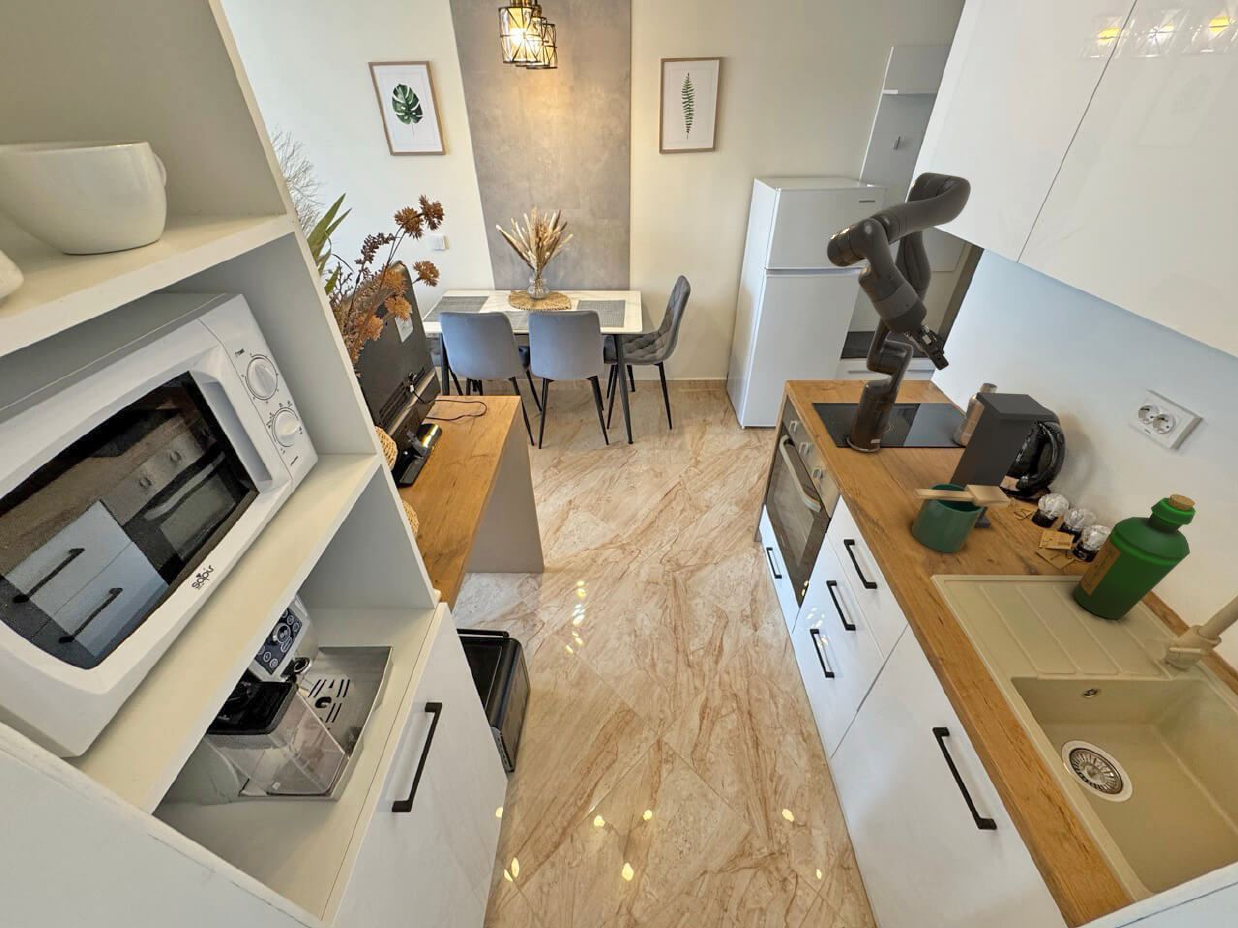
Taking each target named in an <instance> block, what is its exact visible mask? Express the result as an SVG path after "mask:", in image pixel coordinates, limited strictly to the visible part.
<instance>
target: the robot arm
mask: <svg viewBox="0 0 1238 928" xmlns="http://www.w3.org/2000/svg"><path fill="white" fill-rule="evenodd" d="M971 191H972V186H971V182H970V181H969V180H968V179H967V178H965V177H963V176H962V177H961V176H958V175H951V174H945V173H939V172H931V171H929V172H927V171H925V172H922V173H921V174H919V175H918V176H917V177H916V179H915V180H914V181H913V184H912V185H911V187H910V190H909V192H908V195H907V199H906V201H904V202H899V203H895V204H892V205H889V206H886V207H884V208H883V209H881V210H878V211H877V212H875V213H873V214H872V215H869V217H867V218H863V219H861V220H858V221H857V222H855V223H853V224H851V225H849V226H846V227H844V228H843V229H841V230H839V231H837V232H836V233H834V234H832V236H831V237H830V239H829V241H828V242H827V245H826V257H827V258H828V261H829V262H830V263H831V264H832V265H834V266H836V267H839V268H846V267H850V266H852V265H854V264H856V263H860V262H863V261H864V260H867V261H868V264H867V265H866V266H864V267H863V268H862V269H861V271H860V272H859V274H858V276H857V282H858V285H859V286H860V288H861V289H862V291H863V292H864V294H865V295H866V297H867V298H868V300H869V301H870V303H871V304H872V306H873V309H874V311H876V313H877V314H878V316H879V318H878V319H879V320H878V323H877V326H876V328H875V332H874V335H873V338H872V341H871V344H870V347H869V350H868V353H867V355H866V362H865V367H866V369H867V370H868V371H870V372H873V373H876V374H881V375H885V376H890V377H887V378H882V379H873V380H868V381H867V382H865V384H864V385H863V388H862V391H861V395H860V398H859V401H858V405H857V407H856V411H855V415H854V418H853V421H852V424H851V426H850V430H849V434H848V436H847V439H846V444H847V445H848V446H849V447H850V448H852V449H853V450H855V451H857V452H861V453H868V454H869V453H875V452H878V451H879V449H880V447H881V444H882V440H883V438H884V435H885V432H886V430H887V427H888V423H889V421H890V418H891V415H892V412H893V409H894V406H895V404H896V400H897V397H898V395H899V392H900V389H901V386H902V383H903V381H904V378H905V375H906V373H907V371H908V369H909V367H910V364H911V362H912V360H913V355H914V347H913V345H914V346H915V347H916V348H917V350H918V351H919V353H920V354H921V355H922V356H925V355H926V356H927V358H928V359H929V360H930V361H931V363H933V365H934V367H935V368H936V369H937V370H938V371H942V370H944V369H946V368H948V366H950V362H949V361H948V360H947V358H946V356H945V355H944V354H946V353H945V350H944V349H943V348H942V347H941V345H940V343H939V342H938V340H937V339H936V337H935V336H934V335H933V333H932V332H931V331H930V328H929V326H928V325H927V324H926V323H923V321H924V320H925V318H926V317H927V314H928V309H927V307H926V305H925V304H924V303H925V300H926V297H927V294H928V291H929V288H930V284H931V281H932V277H933V272H932V266H931V262H930V259H929V255H928V253H927V249H926V246H925V242H924V230H928V229H932V228H934V227H938V226H941V225H942V226H943V225H946V224H949V223H951V222H953V221H954V220H956V219H957V218H958V217H959V216H960V215H961V214H962V212H963V211H964V209H965V207H966V206H967V203H968V201H969V198H970V196H971ZM897 241H898V246H897V249H896V253H895V258H893V254H892V251H891V247H890V246H891V245H892V244H894V243H896V242H897ZM890 333H893V334H897V335H898V334H899V335H900V334H903V335H904V336H905V338H906V339H907V341H908V342H911V343H912V344H913V345H911V344H909V343H905V342H900V341H894V340H889V339H888V336H889V335H890Z"/></svg>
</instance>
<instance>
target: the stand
mask: <svg viewBox="0 0 1238 928" xmlns="http://www.w3.org/2000/svg"><path fill="white" fill-rule="evenodd" d="M976 393H977V395H976V397H975V398H976V399H977V400H978V401H979V402H980V403H981V404H982V405H983V406H984V407H985V408H984V410H983V412H982V414H981V416H980V418H979V420H978V422H977V425H976V427H975V429H974V431H973V433H972V435H971V437H970V439H969V442H968V444H967V446H965V448H964V451H963V452H962V454H961V456H960V458H959V460H958V463H957V465H956V467H955V469H954V472H953V473H952V476H951V478H950V480H949V482H948V484H953V485H958V486H961V487H963V488H965V487H966V485H980V486H997V487H999V488H1000V487H1001V485H1002V483H1003V481H1004V480H1005V478H1006V475H1007V474H1008V472H1009V471H1010V468H1011V467H1012V465H1013V463H1014V462H1015V459H1016V457H1017V456H1018V453H1019V452H1020V450H1021V448H1022V446H1023V444H1024V443H1025V441H1026V440H1027V437H1028V435H1029V433H1030V432H1031V429H1032V428H1033V426H1034V424H1035V422H1052V421H1053V419H1054V417H1055V414H1053V413H1052V412H1051V411H1050V410H1048V409H1047V408H1046V407H1045V406H1043V405H1042V404H1041V403H1039V401H1036V399H1034V398H1033V397H1032V396H1030V395H1029V394H1027V393H1009V392H1008V393H1005V392H995V393H985V392H980V391H977V392H976ZM988 509H989V507H984V508H983V510H982V512H981V514H980V516H979V518H978V520H977V522H976V523H975V525H974V527H973V528H986V529H989V528H990V526H991V525H992V522H991V521H990V520H989V519H988V517H987V516H986V515H985V514H986V513H987V511H988Z"/></svg>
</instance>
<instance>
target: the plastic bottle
mask: <svg viewBox="0 0 1238 928" xmlns="http://www.w3.org/2000/svg"><path fill="white" fill-rule="evenodd" d="M997 389H998V385H996V384H994V383H990V382H983V383H982V385H981V387H980V388H979V392H985V393H997V392H996V391H997ZM977 393H978V392H976V393H974V394H973V395H972V396H970V398H969V399H968V403H967V408H966V411H965V414H964V417H963V419H962V421H961V423H960V425H959V426H958V427H957V428H956V430H955V432H954V435H953V440H954V442H955V443H956V444H957V445H960V446H963V447H966V446H967V444H968V442H969V439H970V437H971V435H972V433H973V431H974V429H975V427H976V425H977V422H978V420H979V418H980V416H981V414H982V412H983V410H984V408H985V407H984V406H983V405H982V404H981V403H980V402H979V401H978V400H977V399H976V398H975V397H976V395H977Z"/></svg>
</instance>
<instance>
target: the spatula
mask: <svg viewBox="0 0 1238 928" xmlns="http://www.w3.org/2000/svg"><path fill="white" fill-rule="evenodd" d="M913 495H914V496H915V498H916V499H923V500H924V499H937V500H954V501H971V502H972V503H973V504H974V506H982V507H988V508H1000V509H1008V508H1009V506H1010V504H1011V503H1012V500H1010V498H1009V497H1008V496H1007V494H1006V493H1005V492H1003V490H1002V489H1001V488H1000V487H997V486H980V485H966V487H965V489H964V492H963V491H946V490H929V488H928V489H927V488H926V489H925V488H914V489H913Z"/></svg>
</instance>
